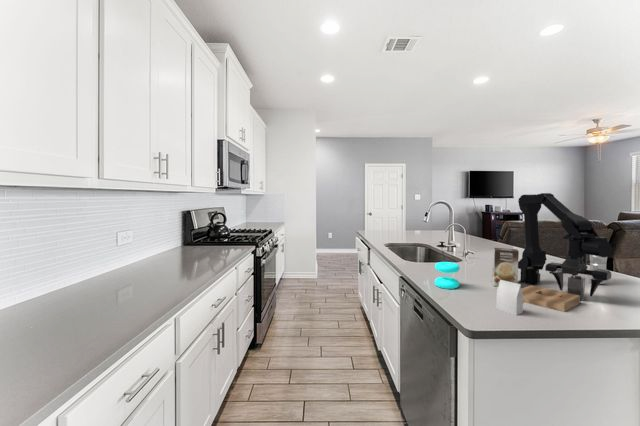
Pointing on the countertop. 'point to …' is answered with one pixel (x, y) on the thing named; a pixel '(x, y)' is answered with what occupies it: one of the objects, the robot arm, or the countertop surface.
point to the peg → (576, 286)
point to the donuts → (447, 281)
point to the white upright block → (510, 297)
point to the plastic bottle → (597, 265)
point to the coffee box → (505, 265)
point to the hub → (550, 298)
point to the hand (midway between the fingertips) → (575, 293)
